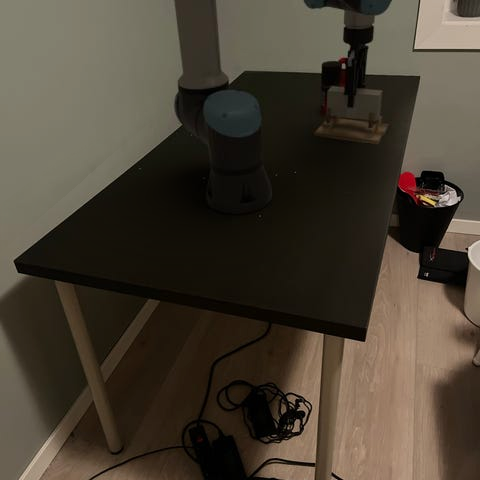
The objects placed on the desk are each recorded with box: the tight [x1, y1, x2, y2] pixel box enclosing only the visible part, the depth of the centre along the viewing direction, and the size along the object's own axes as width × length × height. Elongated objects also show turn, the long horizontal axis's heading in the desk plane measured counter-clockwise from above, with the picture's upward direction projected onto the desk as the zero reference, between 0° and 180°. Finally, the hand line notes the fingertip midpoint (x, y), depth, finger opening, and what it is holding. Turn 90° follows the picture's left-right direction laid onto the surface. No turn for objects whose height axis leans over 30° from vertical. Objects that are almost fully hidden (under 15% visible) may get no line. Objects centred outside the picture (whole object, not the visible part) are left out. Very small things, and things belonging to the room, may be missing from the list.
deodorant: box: [320, 60, 343, 117], centre depth 145 cm, size 6×6×15 cm
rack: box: [314, 108, 390, 145], centre depth 135 cm, size 12×18×8 cm, turn 63°
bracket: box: [338, 56, 346, 87], centre depth 163 cm, size 9×6×10 cm
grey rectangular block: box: [327, 86, 383, 121], centre depth 132 cm, size 4×14×7 cm, turn 63°
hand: (353, 114), depth 134 cm, fingers closed on grey rectangular block, 4 cm apart
